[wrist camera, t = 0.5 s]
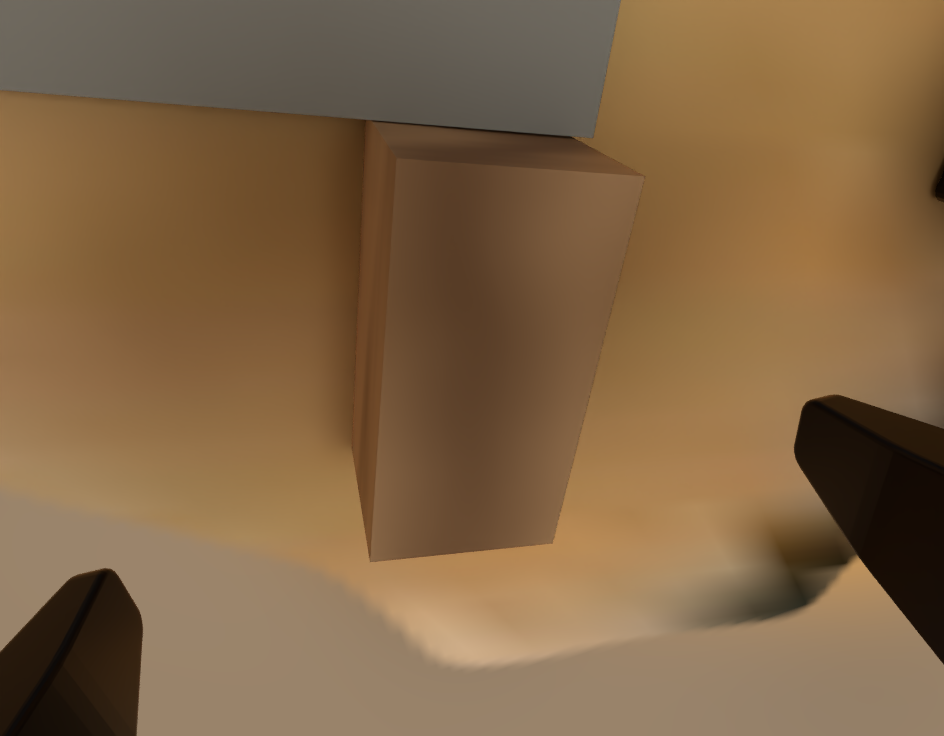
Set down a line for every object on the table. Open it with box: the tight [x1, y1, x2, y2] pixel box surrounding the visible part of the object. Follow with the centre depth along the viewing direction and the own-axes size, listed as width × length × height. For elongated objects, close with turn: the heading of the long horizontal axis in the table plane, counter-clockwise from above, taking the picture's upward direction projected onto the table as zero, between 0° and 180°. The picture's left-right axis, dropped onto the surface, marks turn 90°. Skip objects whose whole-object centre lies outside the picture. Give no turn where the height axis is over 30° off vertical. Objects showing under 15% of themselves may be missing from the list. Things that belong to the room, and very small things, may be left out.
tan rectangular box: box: [352, 120, 645, 562], centre depth 17 cm, size 5×10×5 cm, turn 173°
